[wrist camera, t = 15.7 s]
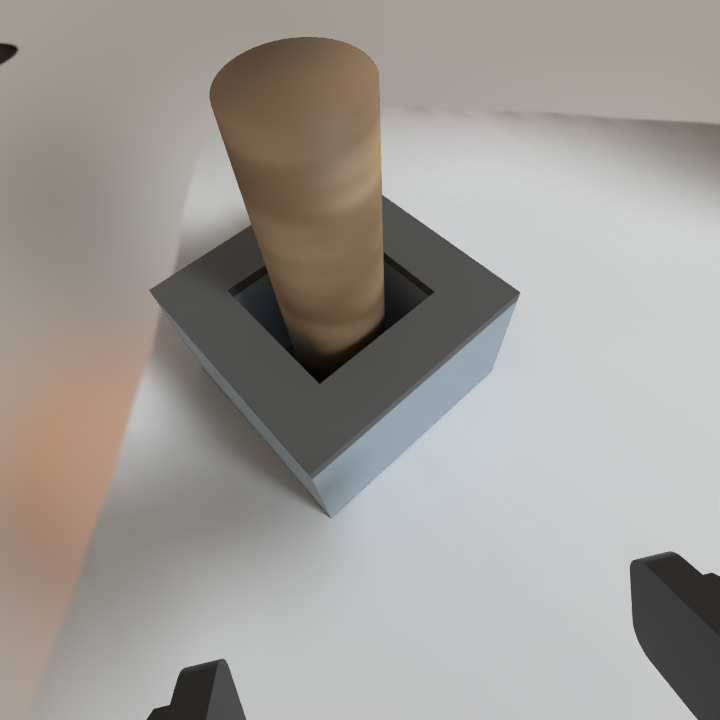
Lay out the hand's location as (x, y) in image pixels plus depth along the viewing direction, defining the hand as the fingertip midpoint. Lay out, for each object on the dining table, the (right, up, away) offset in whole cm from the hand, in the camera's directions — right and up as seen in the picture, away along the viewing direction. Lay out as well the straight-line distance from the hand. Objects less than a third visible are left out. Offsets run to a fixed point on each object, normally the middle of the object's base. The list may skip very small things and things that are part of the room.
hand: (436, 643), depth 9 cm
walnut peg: (-2, +5, +14) cm, 15 cm away
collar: (-2, +5, +14) cm, 15 cm away
